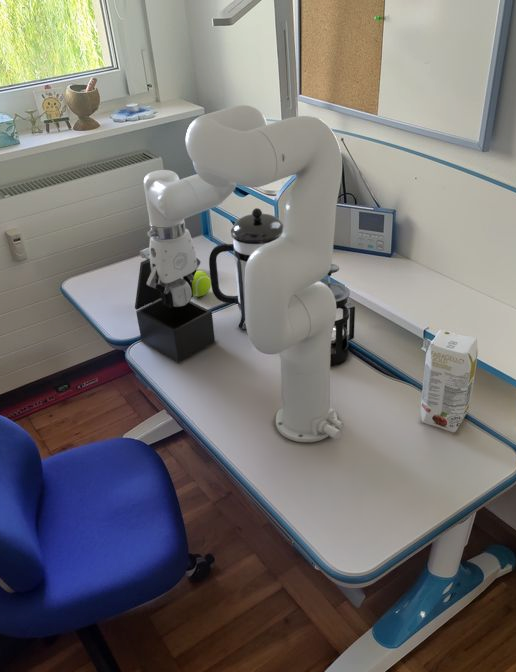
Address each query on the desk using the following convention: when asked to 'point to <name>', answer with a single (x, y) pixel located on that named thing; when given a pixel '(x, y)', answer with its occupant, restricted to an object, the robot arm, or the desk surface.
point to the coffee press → (244, 252)
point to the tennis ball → (201, 284)
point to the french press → (341, 321)
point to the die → (180, 292)
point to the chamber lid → (145, 283)
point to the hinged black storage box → (176, 329)
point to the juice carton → (448, 379)
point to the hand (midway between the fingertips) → (178, 300)
